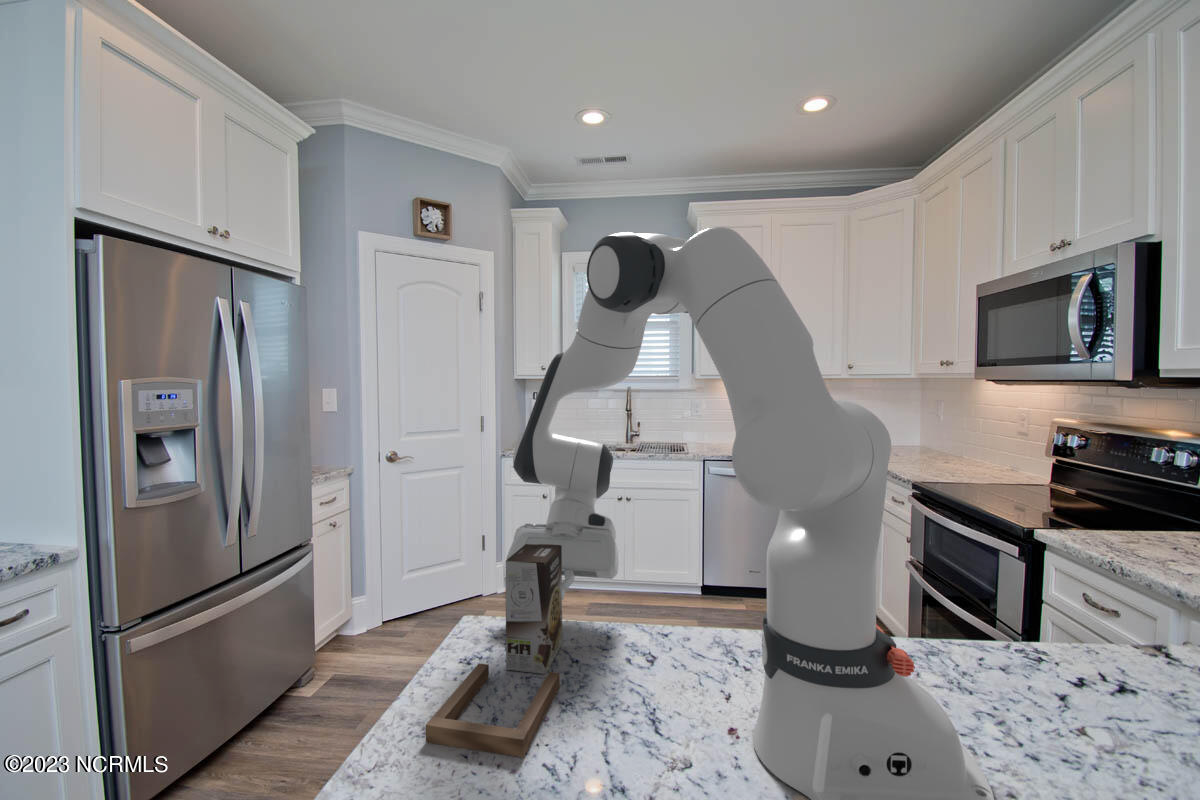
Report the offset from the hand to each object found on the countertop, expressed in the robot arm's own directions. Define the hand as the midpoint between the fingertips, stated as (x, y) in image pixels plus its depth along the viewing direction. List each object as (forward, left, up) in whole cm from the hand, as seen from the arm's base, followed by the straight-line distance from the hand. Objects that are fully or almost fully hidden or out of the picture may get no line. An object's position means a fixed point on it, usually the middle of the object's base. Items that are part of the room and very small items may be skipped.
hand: (554, 597), depth 85 cm
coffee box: (0, +9, -6) cm, 11 cm away
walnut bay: (0, +22, -5) cm, 23 cm away
